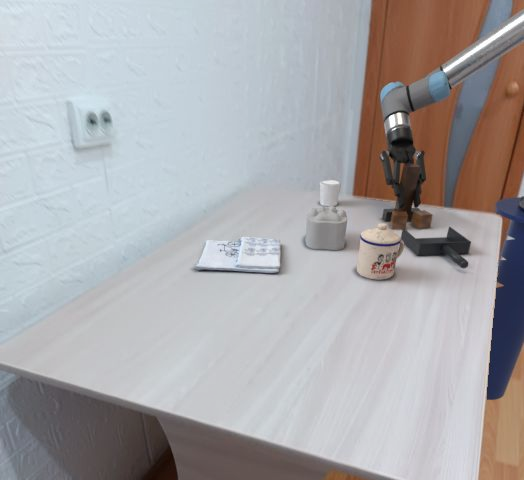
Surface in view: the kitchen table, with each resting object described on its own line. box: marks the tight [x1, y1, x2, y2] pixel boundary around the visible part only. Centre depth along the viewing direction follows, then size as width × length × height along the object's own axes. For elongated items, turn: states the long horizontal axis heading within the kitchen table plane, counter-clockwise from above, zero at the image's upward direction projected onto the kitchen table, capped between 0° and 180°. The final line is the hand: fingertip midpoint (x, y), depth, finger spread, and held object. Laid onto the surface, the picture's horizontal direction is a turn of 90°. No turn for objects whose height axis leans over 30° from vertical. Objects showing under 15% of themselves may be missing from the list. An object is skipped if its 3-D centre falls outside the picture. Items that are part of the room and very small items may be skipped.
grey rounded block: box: [304, 205, 348, 251], centre depth 128 cm, size 10×13×9 cm
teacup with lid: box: [356, 222, 405, 281], centre depth 110 cm, size 12×9×12 cm
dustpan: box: [400, 226, 472, 269], centre depth 122 cm, size 22×14×3 cm, turn 8°
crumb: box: [410, 209, 434, 230], centre depth 140 cm, size 4×4×4 cm
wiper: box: [381, 163, 422, 223], centre depth 141 cm, size 11×3×16 cm, turn 98°
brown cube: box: [389, 211, 408, 230], centre depth 139 cm, size 4×4×4 cm
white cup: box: [319, 179, 342, 207], centre depth 156 cm, size 7×7×7 cm
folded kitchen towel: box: [193, 235, 281, 274], centre depth 119 cm, size 19×20×2 cm
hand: (409, 205), depth 139 cm, fingers closed on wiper, 4 cm apart
